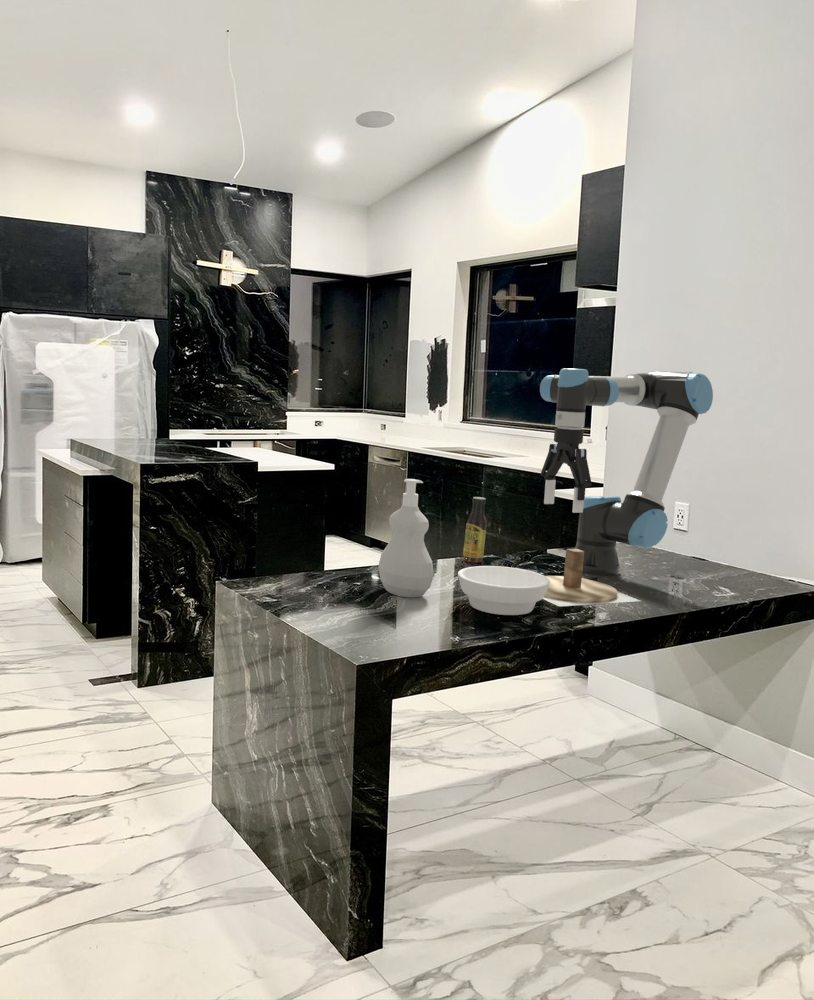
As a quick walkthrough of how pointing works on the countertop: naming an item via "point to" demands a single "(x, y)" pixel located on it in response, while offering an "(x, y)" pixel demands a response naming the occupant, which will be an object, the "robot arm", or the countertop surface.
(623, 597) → the mat
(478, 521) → the sauce bottle
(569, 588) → the lid
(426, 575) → the soap bottle
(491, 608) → the bowl
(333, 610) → the countertop surface
